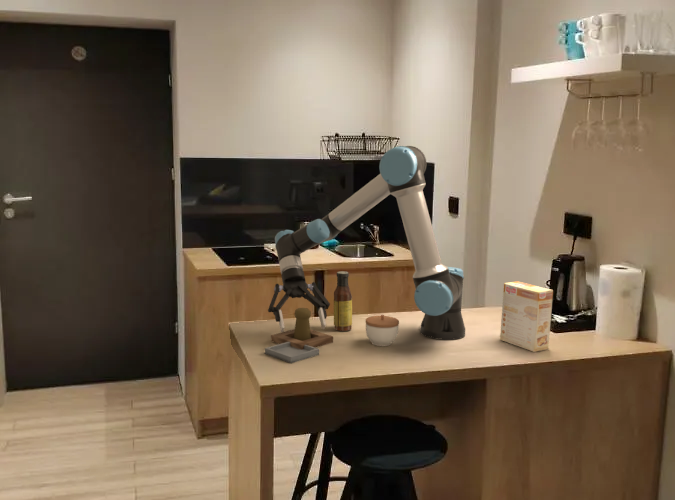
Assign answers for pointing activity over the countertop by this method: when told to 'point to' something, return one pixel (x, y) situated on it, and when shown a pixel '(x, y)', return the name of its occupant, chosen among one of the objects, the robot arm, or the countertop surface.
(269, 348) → the tray
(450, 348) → the countertop surface
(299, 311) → the olive brown bulbous peg
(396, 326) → the lidded jar
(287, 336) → the socket block
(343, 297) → the sauce bottle
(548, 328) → the coffeecake box
